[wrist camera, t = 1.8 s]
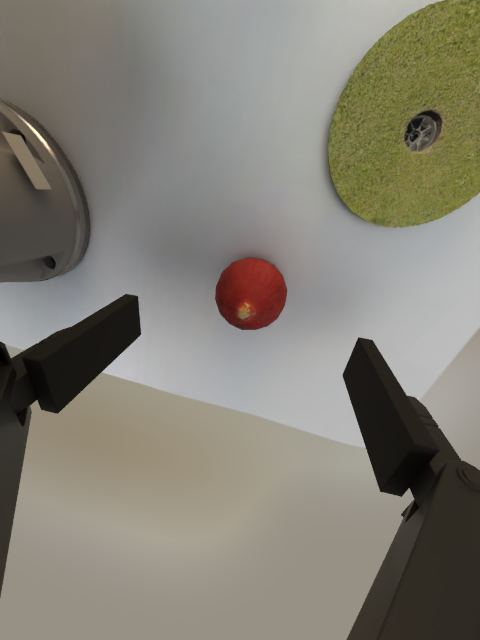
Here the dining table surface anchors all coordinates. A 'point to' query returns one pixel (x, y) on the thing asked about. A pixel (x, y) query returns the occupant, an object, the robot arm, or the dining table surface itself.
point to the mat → (412, 120)
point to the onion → (251, 294)
